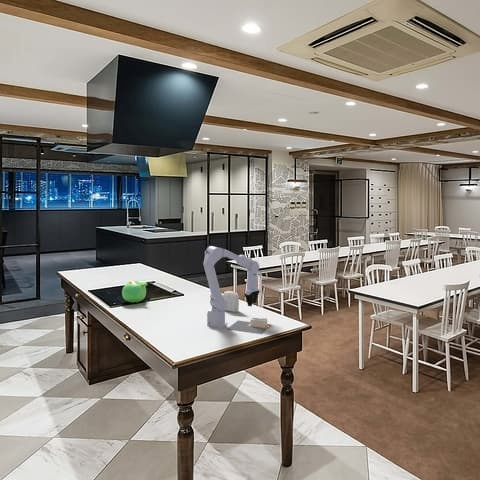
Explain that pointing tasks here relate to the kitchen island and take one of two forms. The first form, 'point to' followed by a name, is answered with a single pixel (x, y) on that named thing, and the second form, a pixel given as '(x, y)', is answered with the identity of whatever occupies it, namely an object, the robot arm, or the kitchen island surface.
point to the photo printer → (231, 301)
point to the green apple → (134, 291)
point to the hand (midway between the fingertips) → (252, 304)
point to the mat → (247, 327)
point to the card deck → (258, 322)
